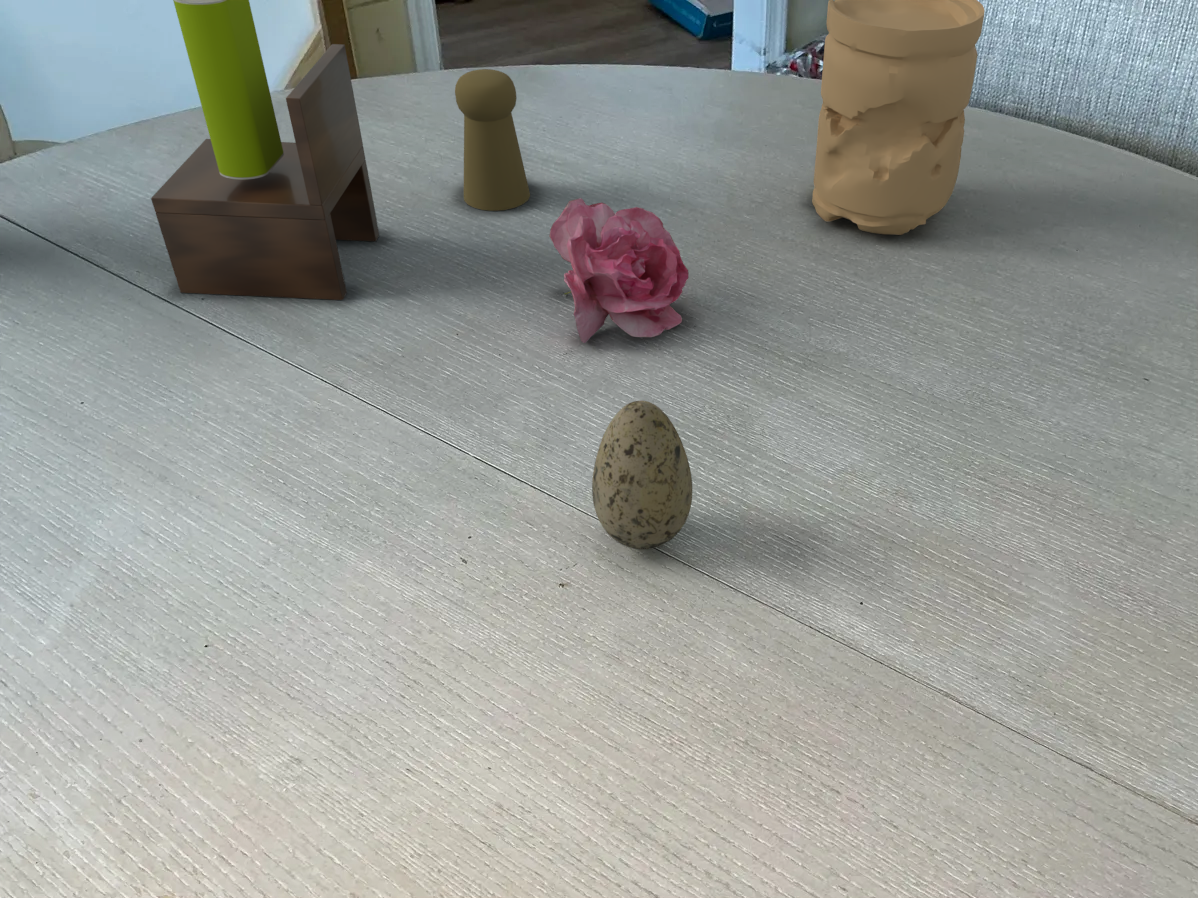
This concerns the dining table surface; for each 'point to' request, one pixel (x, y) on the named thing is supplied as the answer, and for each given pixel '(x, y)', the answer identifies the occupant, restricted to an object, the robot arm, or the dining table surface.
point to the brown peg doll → (490, 141)
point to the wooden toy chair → (276, 203)
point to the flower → (619, 268)
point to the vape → (231, 85)
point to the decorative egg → (642, 478)
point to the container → (893, 109)
